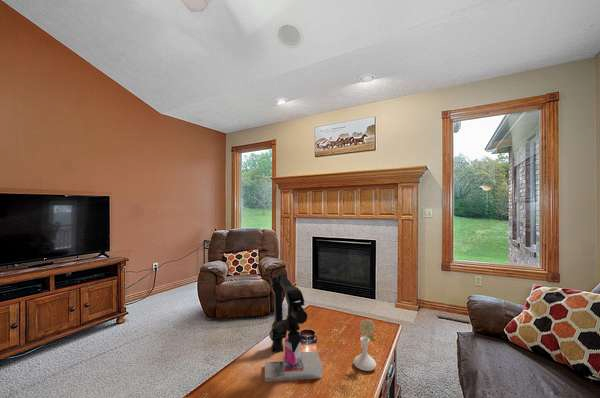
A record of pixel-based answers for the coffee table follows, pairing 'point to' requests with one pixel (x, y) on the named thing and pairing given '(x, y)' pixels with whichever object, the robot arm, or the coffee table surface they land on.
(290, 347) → the supplement box
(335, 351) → the coffee table surface
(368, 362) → the flower in vase
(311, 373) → the step stand
